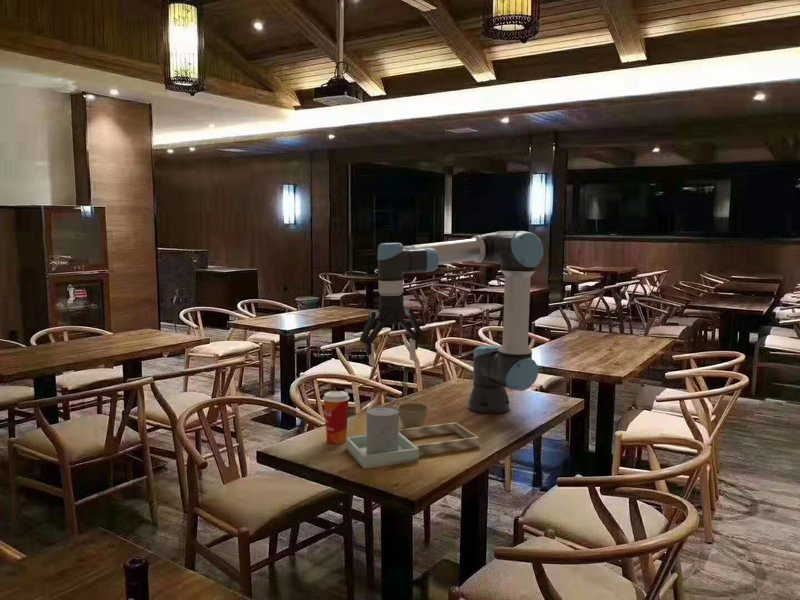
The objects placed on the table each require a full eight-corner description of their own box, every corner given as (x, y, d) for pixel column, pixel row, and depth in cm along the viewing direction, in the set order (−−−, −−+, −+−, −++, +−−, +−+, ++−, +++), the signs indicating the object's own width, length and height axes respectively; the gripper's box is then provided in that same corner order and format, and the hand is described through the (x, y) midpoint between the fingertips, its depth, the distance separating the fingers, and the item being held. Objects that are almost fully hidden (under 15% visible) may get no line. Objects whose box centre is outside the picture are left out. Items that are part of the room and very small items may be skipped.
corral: (455, 431, 206) (456, 422, 205) (479, 447, 191) (479, 437, 191) (394, 439, 198) (394, 430, 197) (413, 456, 183) (413, 446, 183)
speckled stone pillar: (403, 448, 188) (403, 408, 186) (392, 459, 179) (392, 417, 177) (373, 444, 191) (373, 405, 189) (361, 455, 182) (361, 414, 180)
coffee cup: (323, 436, 200) (323, 390, 198) (349, 436, 200) (349, 390, 199) (322, 446, 191) (322, 397, 190) (349, 445, 192) (349, 397, 190)
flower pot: (425, 433, 203) (425, 412, 202) (394, 431, 205) (394, 410, 204) (430, 424, 213) (430, 403, 212) (400, 422, 215) (400, 401, 214)
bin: (397, 441, 195) (397, 431, 195) (418, 460, 180) (418, 448, 180) (345, 448, 189) (345, 437, 189) (363, 468, 174) (363, 456, 173)
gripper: (422, 290, 200) (423, 355, 202) (348, 295, 190) (350, 364, 193) (433, 292, 193) (434, 360, 196) (356, 298, 183) (358, 369, 186)
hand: (392, 362), depth 194 cm, fingers open, 13 cm apart
